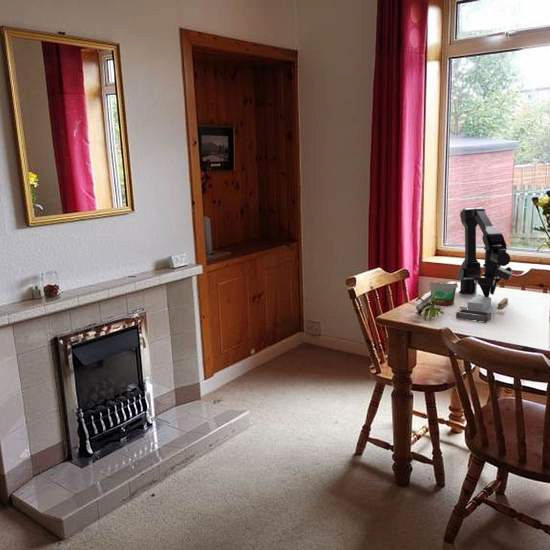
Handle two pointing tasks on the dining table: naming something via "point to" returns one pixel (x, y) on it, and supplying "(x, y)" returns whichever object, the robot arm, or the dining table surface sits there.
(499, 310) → the tiles
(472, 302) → the block
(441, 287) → the food container
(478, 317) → the tray
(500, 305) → the lane
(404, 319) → the dining table surface
